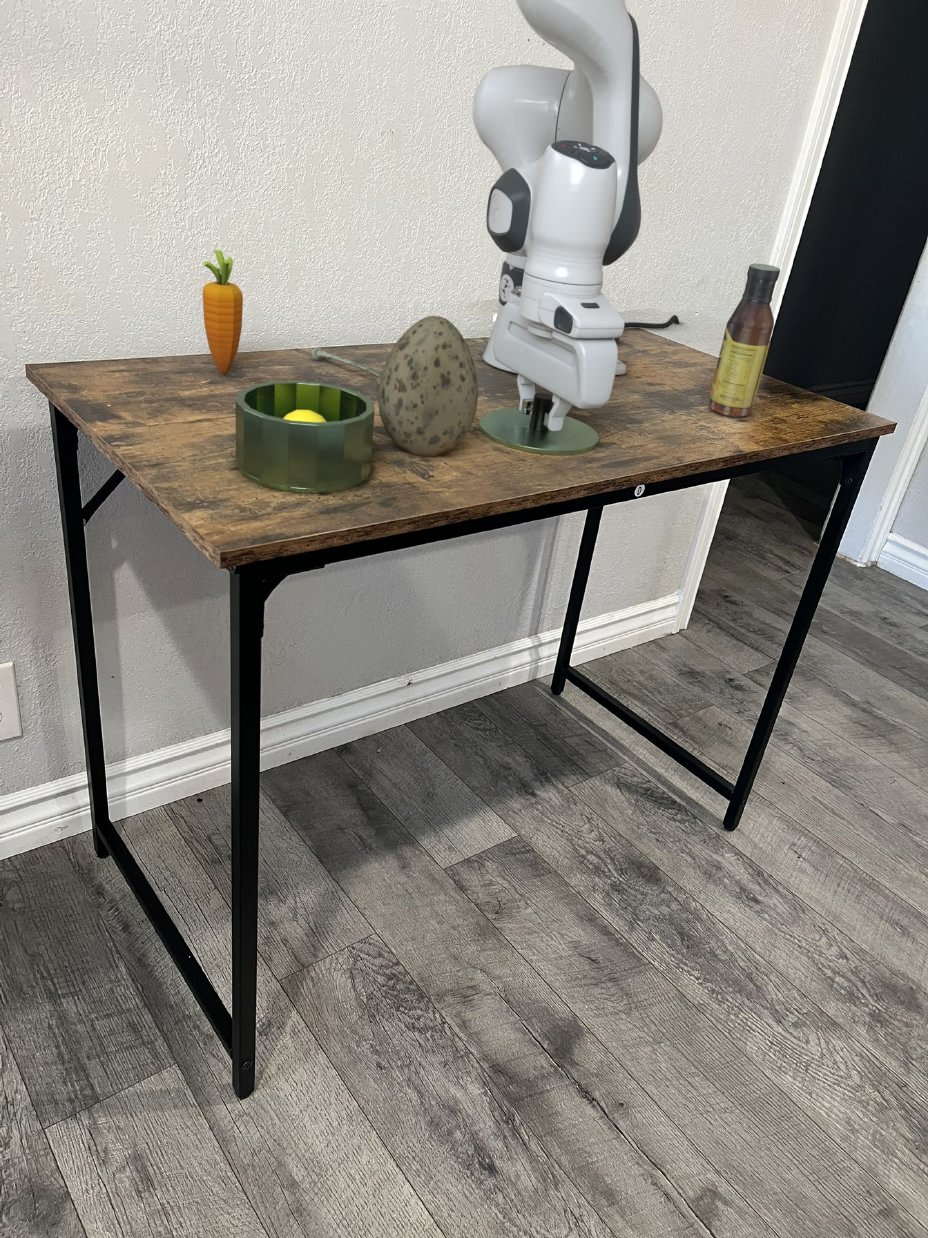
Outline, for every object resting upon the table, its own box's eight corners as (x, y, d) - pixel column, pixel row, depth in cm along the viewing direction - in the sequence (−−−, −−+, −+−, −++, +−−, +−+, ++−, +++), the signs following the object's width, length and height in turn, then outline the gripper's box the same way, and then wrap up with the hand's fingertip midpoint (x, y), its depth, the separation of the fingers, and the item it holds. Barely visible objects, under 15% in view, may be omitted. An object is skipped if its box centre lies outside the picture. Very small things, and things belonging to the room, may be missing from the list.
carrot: (238, 382, 120) (238, 257, 112) (199, 377, 120) (196, 252, 112) (246, 371, 124) (247, 251, 117) (209, 366, 124) (206, 246, 116)
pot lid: (554, 414, 124) (560, 375, 121) (621, 455, 113) (629, 412, 110) (456, 420, 117) (461, 379, 114) (518, 464, 106) (524, 419, 103)
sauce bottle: (721, 402, 138) (758, 259, 128) (758, 415, 134) (799, 269, 124) (696, 408, 134) (733, 261, 124) (735, 422, 130) (775, 271, 120)
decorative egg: (468, 442, 111) (485, 311, 103) (471, 476, 101) (490, 335, 94) (376, 432, 110) (386, 299, 102) (371, 466, 100) (381, 322, 93)
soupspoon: (401, 414, 118) (439, 409, 123) (405, 387, 117) (443, 383, 121) (297, 360, 131) (335, 357, 135) (299, 335, 129) (337, 333, 134)
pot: (340, 439, 106) (343, 378, 103) (391, 486, 96) (396, 420, 93) (220, 448, 100) (219, 383, 96) (261, 498, 90) (262, 428, 86)
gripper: (489, 281, 113) (475, 394, 120) (587, 326, 98) (564, 452, 105) (533, 282, 116) (517, 392, 123) (635, 326, 101) (609, 448, 108)
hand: (539, 420), depth 114 cm, fingers open, 4 cm apart
